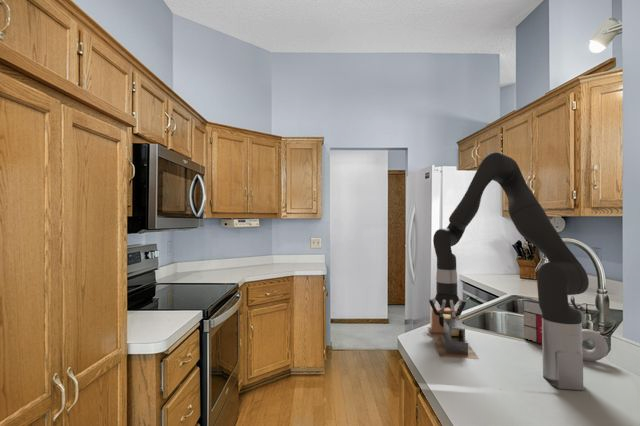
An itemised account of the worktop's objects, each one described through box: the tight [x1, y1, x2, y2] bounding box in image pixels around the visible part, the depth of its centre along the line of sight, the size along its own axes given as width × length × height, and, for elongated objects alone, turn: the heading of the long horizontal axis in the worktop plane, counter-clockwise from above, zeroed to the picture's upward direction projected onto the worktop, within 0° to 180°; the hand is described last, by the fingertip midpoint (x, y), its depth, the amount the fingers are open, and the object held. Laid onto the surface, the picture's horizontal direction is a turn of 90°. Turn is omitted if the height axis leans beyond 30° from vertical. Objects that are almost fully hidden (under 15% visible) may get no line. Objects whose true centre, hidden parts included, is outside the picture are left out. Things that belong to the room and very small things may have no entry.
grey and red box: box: [523, 298, 542, 345], centre depth 134 cm, size 11×4×15 cm, turn 25°
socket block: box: [429, 306, 460, 333], centre depth 144 cm, size 5×10×9 cm, turn 80°
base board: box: [427, 326, 480, 360], centre depth 132 cm, size 33×12×1 cm, turn 170°
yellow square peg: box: [443, 312, 459, 336], centre depth 134 cm, size 20×3×3 cm, turn 170°
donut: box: [582, 328, 609, 362], centre depth 116 cm, size 10×4×10 cm, turn 56°
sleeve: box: [441, 319, 469, 354], centre depth 125 cm, size 12×7×8 cm, turn 170°
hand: (447, 326), depth 138 cm, fingers closed on yellow square peg, 3 cm apart
